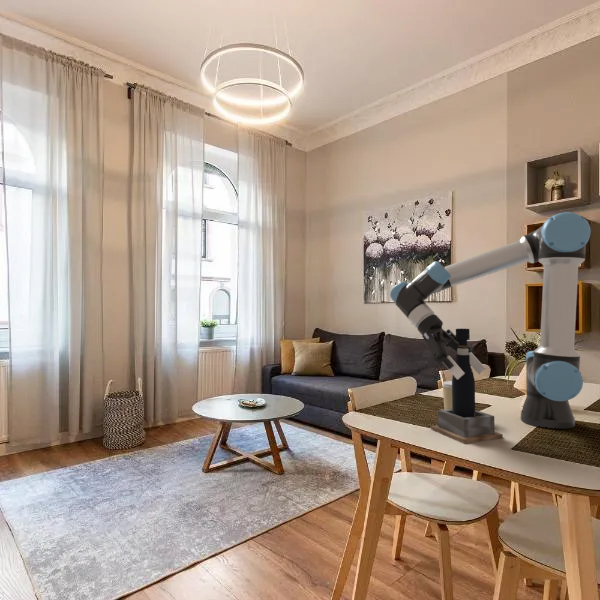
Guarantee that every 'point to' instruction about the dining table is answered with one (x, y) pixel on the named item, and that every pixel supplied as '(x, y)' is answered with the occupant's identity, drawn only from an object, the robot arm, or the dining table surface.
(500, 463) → the dining table surface
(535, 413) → the robot arm
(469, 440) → the collar stand
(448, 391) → the coffee cup
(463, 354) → the wine bottle
